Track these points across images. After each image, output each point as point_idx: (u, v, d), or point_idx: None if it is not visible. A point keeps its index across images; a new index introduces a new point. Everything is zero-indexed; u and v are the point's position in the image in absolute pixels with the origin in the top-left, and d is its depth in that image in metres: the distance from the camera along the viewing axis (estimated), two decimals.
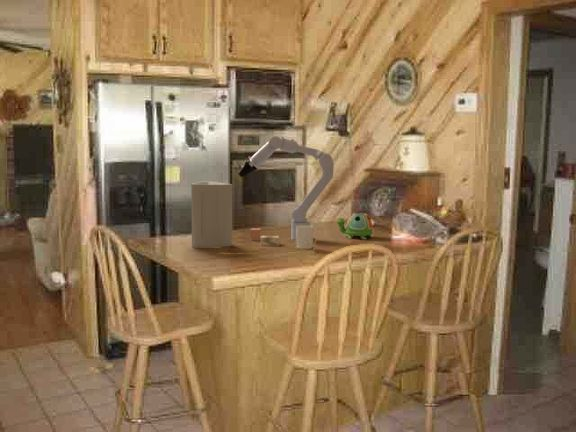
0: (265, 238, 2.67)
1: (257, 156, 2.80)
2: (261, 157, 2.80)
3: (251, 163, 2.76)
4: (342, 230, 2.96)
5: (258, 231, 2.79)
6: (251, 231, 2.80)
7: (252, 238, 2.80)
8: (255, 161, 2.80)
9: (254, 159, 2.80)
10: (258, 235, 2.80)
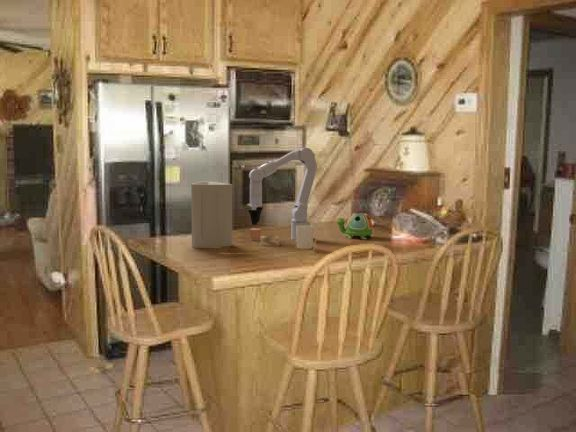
0: (265, 238, 2.67)
1: (253, 198, 2.77)
2: (256, 196, 2.77)
3: (253, 207, 2.73)
4: (342, 230, 2.96)
5: (258, 231, 2.79)
6: (251, 231, 2.80)
7: (252, 238, 2.80)
8: (255, 203, 2.77)
9: (253, 202, 2.77)
10: (258, 235, 2.80)
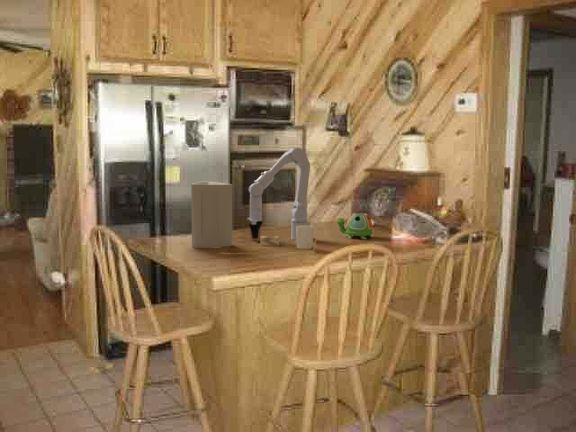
0: (265, 238, 2.67)
1: (253, 212, 2.78)
2: (256, 210, 2.78)
3: (253, 222, 2.74)
4: (342, 230, 2.96)
5: (258, 231, 2.79)
6: None
7: (252, 238, 2.80)
8: (255, 217, 2.78)
9: (253, 216, 2.78)
10: (258, 235, 2.80)
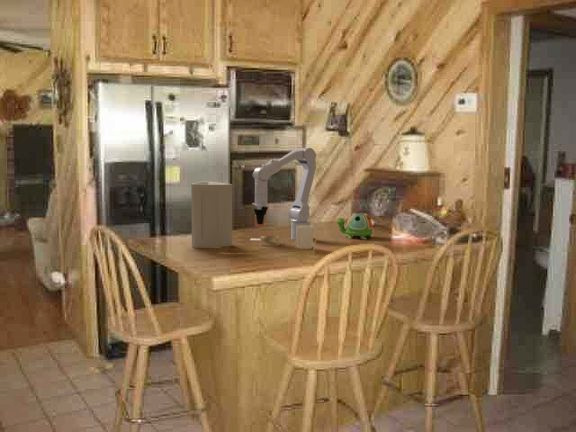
0: (265, 238, 2.67)
1: (258, 197, 2.70)
2: (261, 195, 2.70)
3: (258, 207, 2.66)
4: (342, 230, 2.96)
5: None
6: (255, 217, 2.72)
7: (257, 225, 2.72)
8: (260, 202, 2.70)
9: (258, 201, 2.71)
10: (263, 221, 2.72)
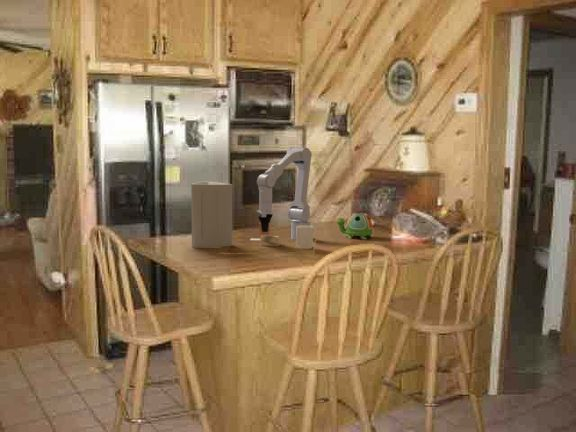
0: (265, 238, 2.67)
1: (262, 204, 2.65)
2: (266, 202, 2.65)
3: (263, 214, 2.61)
4: (342, 230, 2.96)
5: None
6: (260, 225, 2.67)
7: (261, 232, 2.67)
8: (265, 210, 2.65)
9: (263, 209, 2.65)
10: None
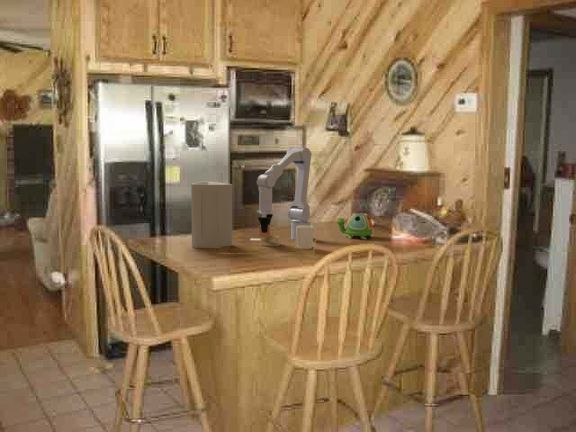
0: (265, 238, 2.67)
1: (262, 205, 2.65)
2: (266, 202, 2.65)
3: (263, 215, 2.61)
4: (342, 230, 2.96)
5: (268, 228, 2.67)
6: (260, 228, 2.67)
7: (261, 235, 2.67)
8: (265, 210, 2.65)
9: (263, 209, 2.65)
10: (268, 232, 2.67)
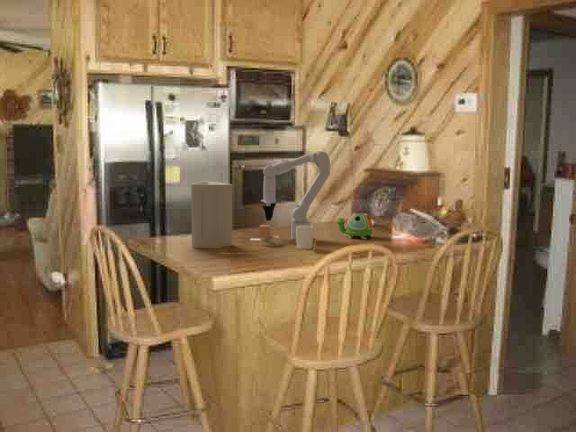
0: (265, 238, 2.67)
1: (267, 194, 2.80)
2: (270, 192, 2.80)
3: (267, 203, 2.76)
4: (342, 230, 2.96)
5: (268, 228, 2.67)
6: (260, 228, 2.67)
7: (261, 235, 2.67)
8: (269, 199, 2.81)
9: (267, 198, 2.81)
10: (268, 232, 2.67)
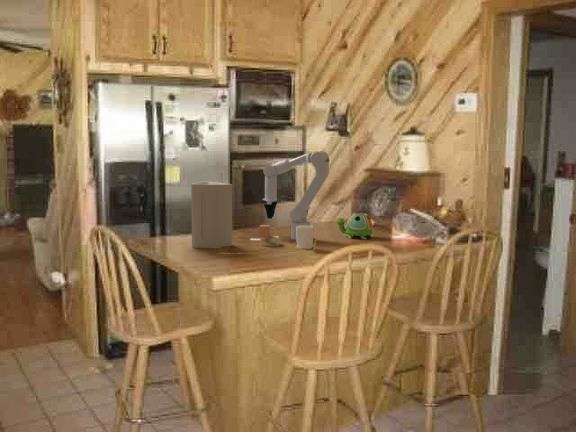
0: (265, 238, 2.67)
1: (268, 193, 2.86)
2: (271, 191, 2.86)
3: (268, 202, 2.82)
4: (342, 230, 2.96)
5: (268, 228, 2.67)
6: (260, 228, 2.67)
7: (261, 235, 2.67)
8: (270, 198, 2.87)
9: (268, 197, 2.87)
10: (268, 232, 2.67)
